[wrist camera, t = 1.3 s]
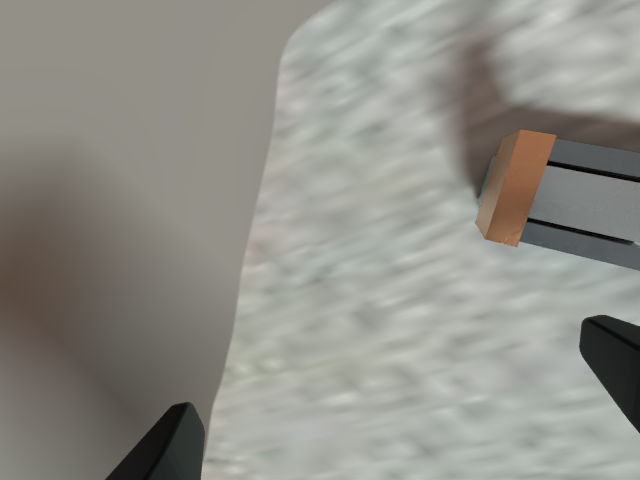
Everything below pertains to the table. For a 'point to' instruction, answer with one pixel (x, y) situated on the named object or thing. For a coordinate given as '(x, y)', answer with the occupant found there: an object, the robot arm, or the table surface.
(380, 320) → the table surface
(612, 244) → the ram guide
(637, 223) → the brown boxy piece
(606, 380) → the robot arm
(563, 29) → the table surface
